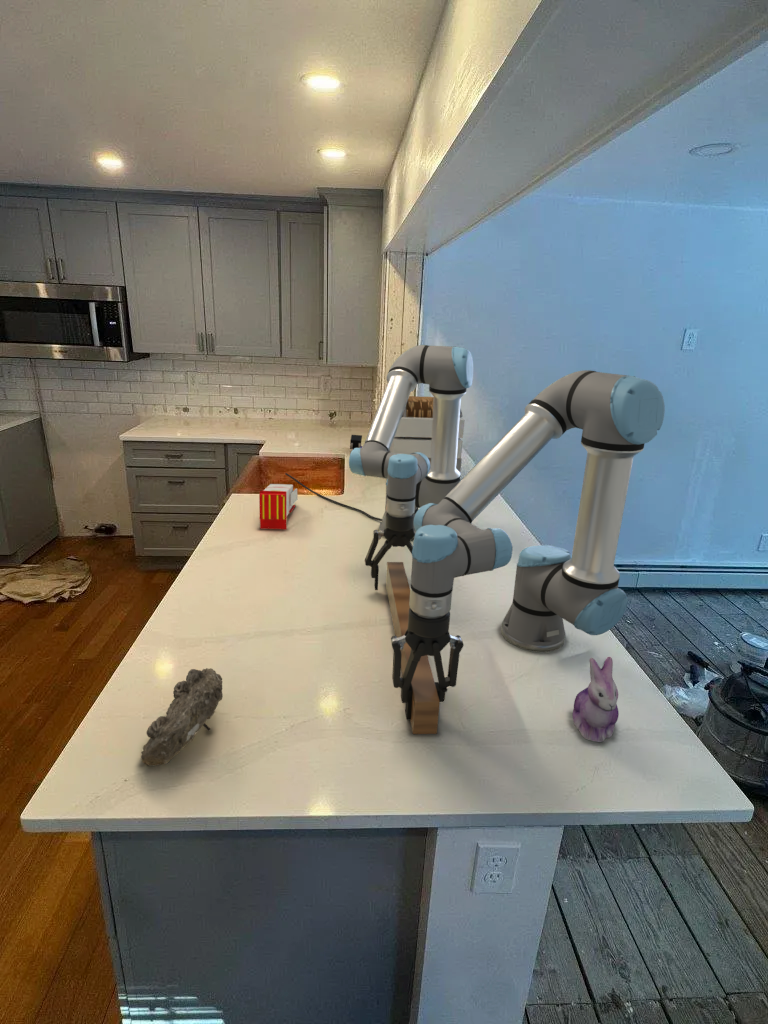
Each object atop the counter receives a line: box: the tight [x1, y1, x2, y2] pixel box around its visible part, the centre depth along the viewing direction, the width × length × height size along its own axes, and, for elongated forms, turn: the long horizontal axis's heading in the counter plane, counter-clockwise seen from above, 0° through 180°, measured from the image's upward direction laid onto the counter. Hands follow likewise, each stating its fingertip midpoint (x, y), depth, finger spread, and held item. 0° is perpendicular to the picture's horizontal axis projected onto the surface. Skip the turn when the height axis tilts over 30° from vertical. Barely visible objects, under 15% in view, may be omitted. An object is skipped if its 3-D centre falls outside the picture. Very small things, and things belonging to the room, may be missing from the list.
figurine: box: [571, 656, 620, 743], centre depth 107 cm, size 9×10×15 cm
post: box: [385, 561, 441, 735], centre depth 133 cm, size 60×5×7 cm, turn 5°
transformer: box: [389, 395, 465, 475], centre depth 268 cm, size 34×33×41 cm
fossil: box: [140, 667, 224, 767], centre depth 103 cm, size 22×10×15 cm
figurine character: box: [349, 434, 363, 450], centre depth 311 cm, size 7×8×15 cm
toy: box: [258, 483, 299, 530], centre depth 210 cm, size 12×13×30 cm
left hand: (396, 587), depth 158 cm, fingers open, 10 cm apart
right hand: (421, 714), depth 111 cm, fingers closed on post, 5 cm apart
